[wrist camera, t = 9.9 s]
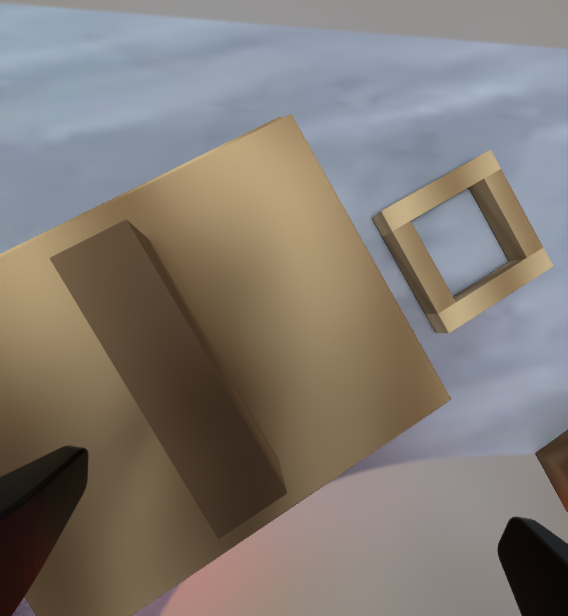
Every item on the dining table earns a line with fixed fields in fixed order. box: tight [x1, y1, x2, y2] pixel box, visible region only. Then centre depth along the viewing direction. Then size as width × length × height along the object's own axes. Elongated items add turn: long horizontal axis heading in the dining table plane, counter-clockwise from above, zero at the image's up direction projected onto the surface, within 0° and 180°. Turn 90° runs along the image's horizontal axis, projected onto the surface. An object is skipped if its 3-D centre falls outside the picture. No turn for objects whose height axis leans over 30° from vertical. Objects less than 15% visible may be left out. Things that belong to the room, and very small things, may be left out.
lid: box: [0, 114, 451, 616], centre depth 9 cm, size 14×11×3 cm
